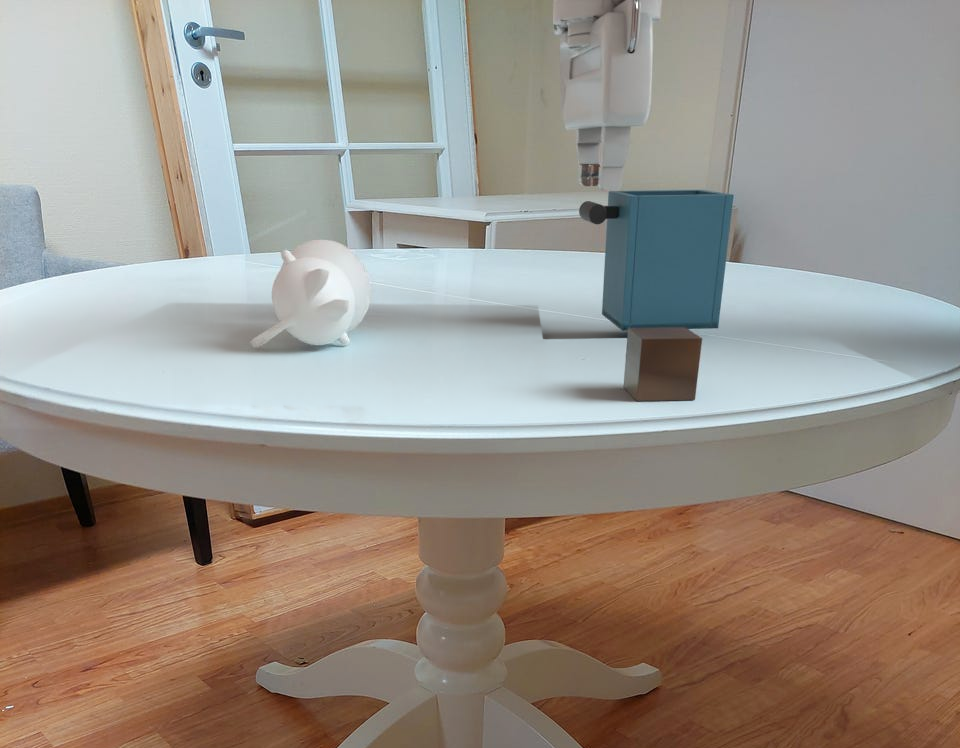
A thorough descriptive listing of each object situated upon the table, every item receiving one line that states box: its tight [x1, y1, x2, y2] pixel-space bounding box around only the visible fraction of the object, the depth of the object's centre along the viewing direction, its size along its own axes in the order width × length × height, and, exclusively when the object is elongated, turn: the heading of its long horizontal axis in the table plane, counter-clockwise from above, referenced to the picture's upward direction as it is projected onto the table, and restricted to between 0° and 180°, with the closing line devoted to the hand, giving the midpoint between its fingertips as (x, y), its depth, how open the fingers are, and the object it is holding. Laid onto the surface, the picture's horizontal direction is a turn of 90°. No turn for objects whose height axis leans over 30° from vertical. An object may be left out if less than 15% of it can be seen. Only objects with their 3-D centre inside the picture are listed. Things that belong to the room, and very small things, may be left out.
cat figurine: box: [250, 238, 372, 349], centre depth 75 cm, size 9×11×12 cm
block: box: [623, 327, 703, 402], centre depth 60 cm, size 4×4×4 cm
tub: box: [578, 189, 735, 332], centre depth 82 cm, size 12×9×11 cm
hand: (598, 188), depth 79 cm, fingers open, 8 cm apart
